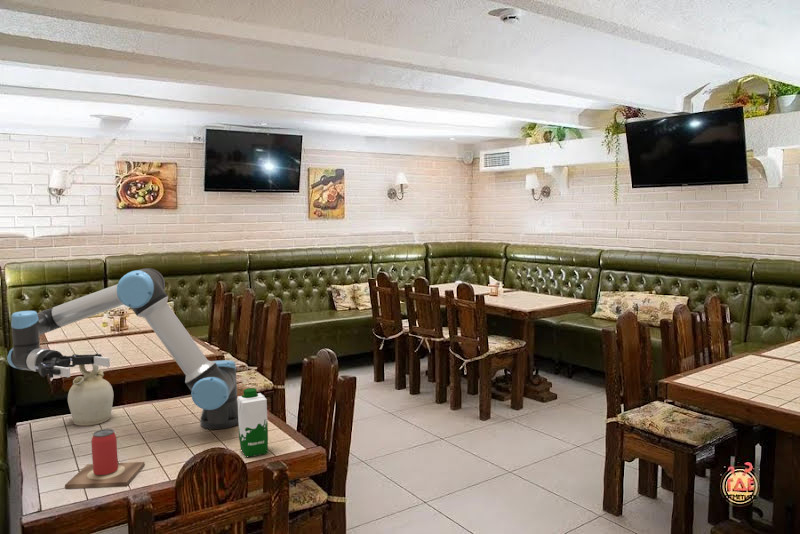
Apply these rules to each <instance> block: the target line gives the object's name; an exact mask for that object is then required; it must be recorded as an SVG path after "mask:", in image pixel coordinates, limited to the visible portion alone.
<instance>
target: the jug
mask: <svg viewBox="0 0 800 534" xmlns="http://www.w3.org/2000/svg"><path fill="white" fill-rule="evenodd" d="M91 366H92V370H91V371H88V370H87V369H86V366H85V365H78V368H79V371H80V373H81V374H82V375H83V376H82V375H79V376H76V377H75V378H74V379H73V380H72V385H71V387H70V388H69V391H68V394H67V403H68V408H69V411H70V415H71V419H72V421H73V424H74V425H76V426H81V427H85V426H87V427H88V426H95V425H100V424H102V423H104V422H107V421H108V420H110V418H111V415H112V410H113V405H114V404H113V402H114V397H115V396H114V390H113V386H112V385H111V383H110V382H109V381H108V380H107V379H104V378H103V377H104V376H105V374H104V370H103V369H99V365H94V364H91Z"/></svg>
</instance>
